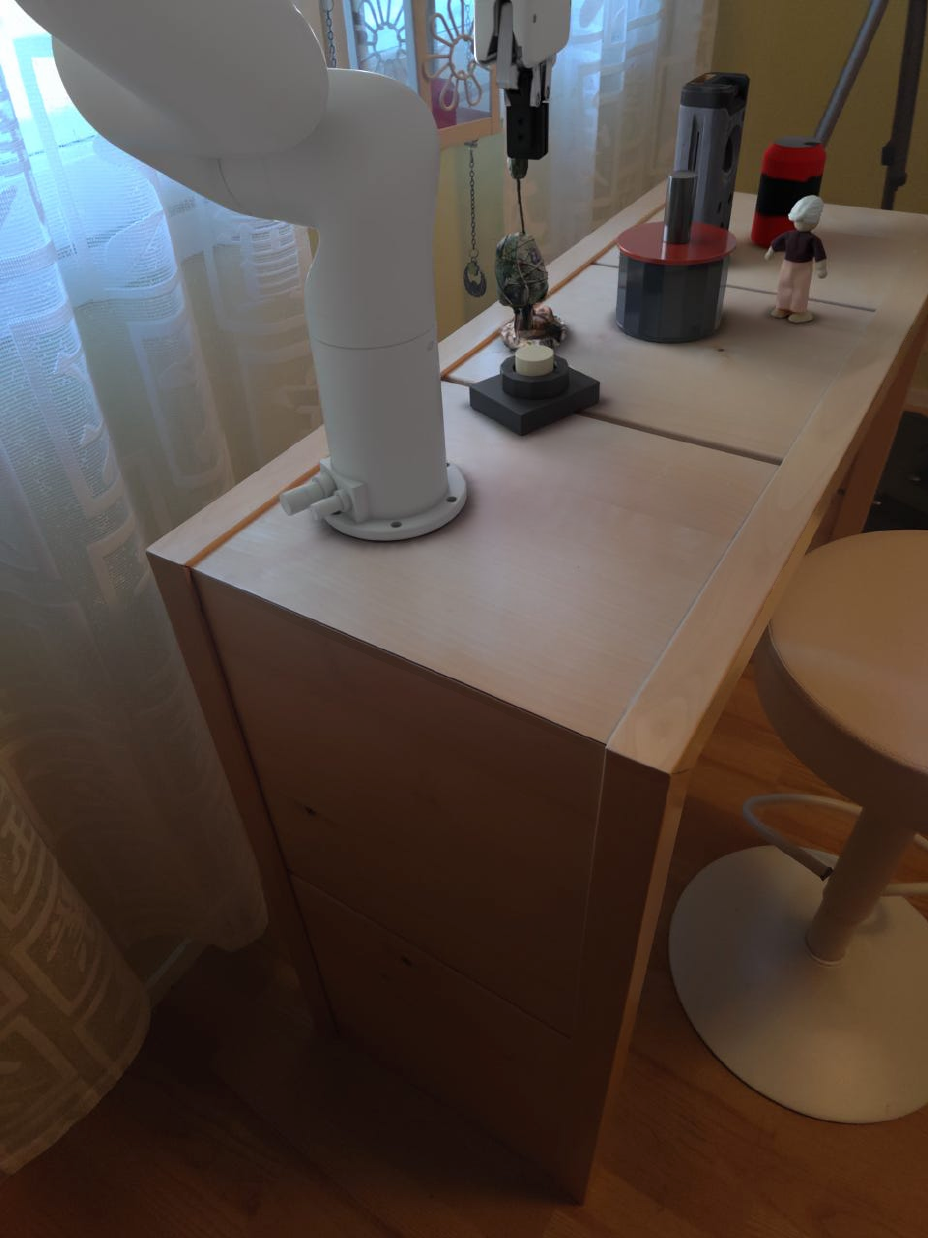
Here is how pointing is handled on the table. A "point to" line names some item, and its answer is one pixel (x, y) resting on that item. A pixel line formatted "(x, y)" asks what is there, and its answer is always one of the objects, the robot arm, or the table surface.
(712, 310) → the pot
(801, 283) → the grandmother figurine
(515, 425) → the control block
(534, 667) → the table surface
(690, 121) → the electronic device
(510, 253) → the plant with pod
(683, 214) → the lid
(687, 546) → the table surface
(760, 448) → the table surface
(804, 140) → the soda can
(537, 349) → the button
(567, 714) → the table surface
